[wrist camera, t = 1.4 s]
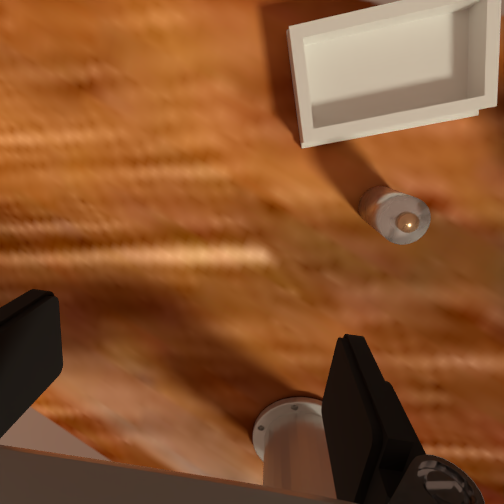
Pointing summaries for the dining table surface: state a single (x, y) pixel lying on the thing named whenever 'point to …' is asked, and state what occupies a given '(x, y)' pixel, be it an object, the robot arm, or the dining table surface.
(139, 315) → the dining table surface
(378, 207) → the cylinder
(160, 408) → the dining table surface
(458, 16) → the trough
